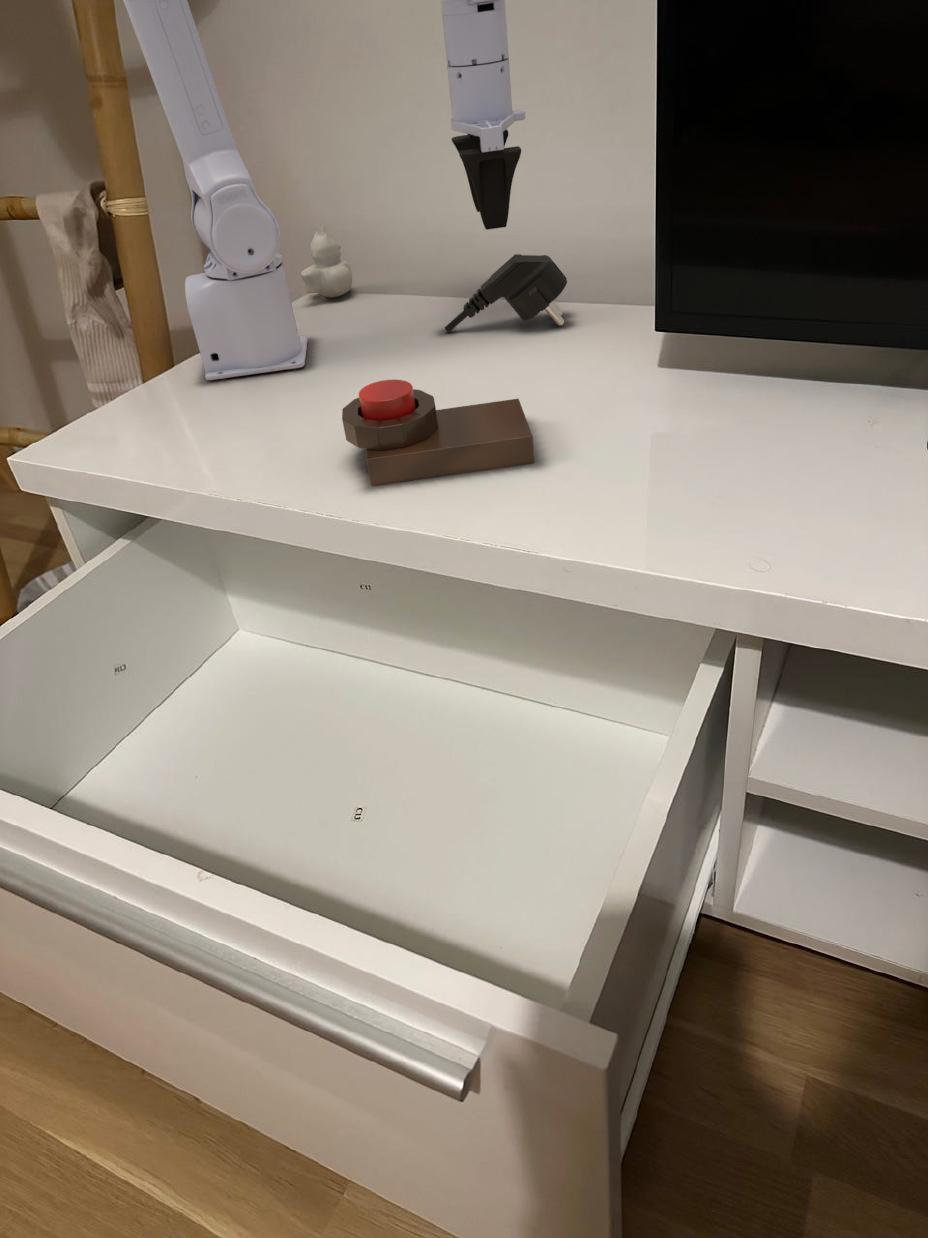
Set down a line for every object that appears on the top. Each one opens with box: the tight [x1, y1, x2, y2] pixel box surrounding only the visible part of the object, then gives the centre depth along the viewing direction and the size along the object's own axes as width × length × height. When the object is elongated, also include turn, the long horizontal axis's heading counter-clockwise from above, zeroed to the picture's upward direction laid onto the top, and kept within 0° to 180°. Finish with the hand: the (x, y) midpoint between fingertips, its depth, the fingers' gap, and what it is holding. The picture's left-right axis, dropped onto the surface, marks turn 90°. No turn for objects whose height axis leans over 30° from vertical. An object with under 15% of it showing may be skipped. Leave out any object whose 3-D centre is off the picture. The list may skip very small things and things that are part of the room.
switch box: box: [341, 388, 535, 487], centre depth 69 cm, size 13×8×4 cm, turn 96°
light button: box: [358, 379, 416, 421], centre depth 68 cm, size 4×4×2 cm
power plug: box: [444, 253, 568, 333], centre depth 91 cm, size 6×8×12 cm
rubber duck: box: [300, 222, 353, 298], centre depth 103 cm, size 5×7×8 cm
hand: (491, 218), depth 93 cm, fingers open, 7 cm apart
